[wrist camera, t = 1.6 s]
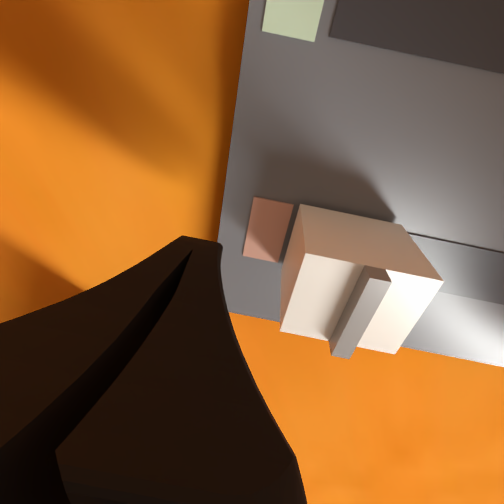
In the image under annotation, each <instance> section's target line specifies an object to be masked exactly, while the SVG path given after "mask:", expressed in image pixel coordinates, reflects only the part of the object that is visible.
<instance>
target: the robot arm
mask: <svg viewBox="0 0 504 504" xmlns="http://www.w3.org/2000/svg"><path fill="white" fill-rule="evenodd" d="M222 252H223V246H222V245H221V243H218V242H213V241H208V240H203V239H198V238H193V237H188V236H183V235H182V236H181V237H179V238H177V239H176V240H174V241H173V242H171V243H169V244H168V245H166V246H165V247H163V248H162V249H160V250H159V251H157V252H156V253H154V254H153V255H151V256H149V257H148V258H146V259H145V260H143V261H141V262H140V263H138V264H137V265H135V266H133V267H131V268H129V269H128V270H126V271H124V272H122V273H120V274H119V275H117V276H115V277H113V278H111V279H109V280H108V281H106V282H104V283H102V284H99V285H97V286H95V287H93V288H91V289H89V290H87V291H84V292H82V293H80V294H78V295H75V296H73V297H71V298H68V299H66V300H64V301H61V302H58V303H56V304H53V305H50V306H48V307H45V308H42V309H40V310H37V311H34V312H32V313H29V314H26V315H23V316H21V317H18V318H15V319H12V320H9V321H6V322H3V323H0V504H307V500H306V496H305V491H304V486H303V482H302V478H301V474H300V470H299V466H298V463H297V459H296V456H295V454H294V452H293V450H292V449H291V447H290V445H289V444H288V442H287V440H286V439H285V437H284V435H283V433H282V432H281V430H280V428H279V426H278V425H277V423H276V421H275V419H274V417H273V416H272V414H271V412H270V410H269V408H268V406H267V404H266V403H265V401H264V399H263V397H262V395H261V393H260V391H259V389H258V387H257V385H256V383H255V380H254V378H253V376H252V374H251V371H250V369H249V367H248V365H247V362H246V360H245V358H244V356H243V353H242V351H241V348H240V346H239V343H238V340H237V338H236V335H235V332H234V329H233V326H232V323H231V319H230V316H229V312H228V308H227V304H226V300H225V295H224V290H223V284H222V276H221V258H222Z"/></svg>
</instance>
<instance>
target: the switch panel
mask: <svg viewBox="0 0 504 504" xmlns="http://www.w3.org/2000/svg"><path fill="white" fill-rule="evenodd" d="M300 204H304V205H309V206H314V207H319V208H323V209H328V210H333V211H338V212H343V213H348V214H353V215H357V216H362V217H367V218H372V219H377V220H382V221H387V222H391V223H396V224H401V225H402V226H403V227H404V229H405V230H406V231H407V233H408V234H409V235H410V237H411V238H412V239H413V241H414V242H415V243H416V245H417V246H418V247H419V249H420V250H421V251H422V253H423V254H424V255H425V257H426V258H427V259H428V260H429V262H430V263H431V264H432V266H433V267H434V268H435V270H436V271H437V272H438V274H439V275H440V276H441V278H442V279H443V280H444V282H443V284H442V285H441V287H440V288H439V290H438V291H437V293H436V294H435V296H434V297H433V299H432V300H431V302H430V303H429V305H428V306H427V307H426V309H425V310H424V312H423V313H422V315H421V316H420V318H419V319H418V321H417V322H416V324H415V325H414V327H413V328H412V330H411V331H410V333H409V334H408V336H407V337H406V339H405V340H404V342H403V343H402V344H401V347H406V348H411V349H416V350H421V351H426V352H431V353H436V354H441V355H446V356H451V357H456V358H461V359H466V360H471V361H476V362H481V363H486V364H491V365H496V366H501V367H504V0H249V8H248V15H247V23H246V31H245V38H244V46H243V53H242V61H241V68H240V76H239V83H238V91H237V98H236V106H235V113H234V121H233V129H232V136H231V144H230V151H229V159H228V166H227V174H226V181H225V189H224V196H223V204H222V211H221V219H220V227H219V234H218V243H221V245H222V246H223V252H222V258H221V276H222V284H223V290H224V295H225V300H226V304H227V308H228V312H232V313H237V314H242V315H247V316H252V317H257V318H262V319H267V320H272V321H277V322H280V302H281V269H282V265H283V262H284V258H285V255H286V251H287V248H288V244H289V241H290V237H291V234H292V230H293V227H294V223H295V220H296V216H297V213H298V209H299V206H300Z"/></svg>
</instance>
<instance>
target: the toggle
mask: <svg viewBox="0 0 504 504" xmlns="http://www.w3.org/2000/svg"><path fill="white" fill-rule="evenodd" d="M443 282H444V280H443V279H442V278H441V276H440V275H439V274H438V272H437V271H436V270H435V268H434V267H433V266H432V264H431V263H430V262H429V260H428V259H427V258H426V257H425V255H424V254H423V253H422V251H421V250H420V249H419V247H418V246H417V245H416V243H415V242H414V241H413V239H412V238H411V237H410V235H409V234H408V233H407V231H406V230H405V229H404V227H403V226H402V225H401V224H396V223H391V222H387V221H382V220H377V219H372V218H367V217H362V216H357V215H353V214H348V213H343V212H338V211H333V210H328V209H323V208H319V207H314V206H309V205H304V204H300V206H299V209H298V213H297V216H296V220H295V223H294V227H293V230H292V234H291V237H290V241H289V244H288V248H287V251H286V255H285V258H284V262H283V265H282V269H281V302H280V331H282V332H287V333H292V334H297V335H302V336H307V337H312V338H317V339H322V340H327V341H329V345H330V351H331V356H336V357H341V358H346V359H350V357H351V355H352V354H353V352H354V350H355V348H356V347H361V348H366V349H371V350H376V351H381V352H386V353H391V354H395V353H396V352H397V350H398V349H399V347H400V346H401V344H402V343H403V342H404V340H405V339H406V337H407V336H408V334H409V333H410V331H411V330H412V328H413V327H414V325H415V324H416V322H417V321H418V319H419V318H420V316H421V315H422V313H423V312H424V310H425V309H426V307H427V306H428V305H429V303H430V302H431V300H432V299H433V297H434V296H435V294H436V293H437V291H438V290H439V288H440V287H441V285H442V284H443Z"/></svg>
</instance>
